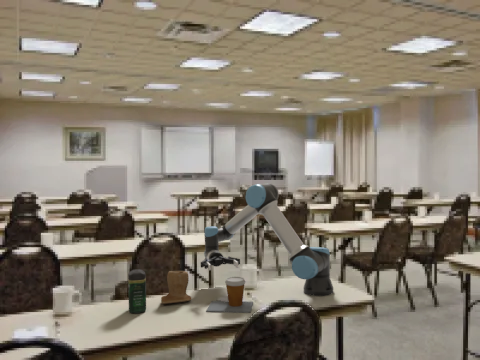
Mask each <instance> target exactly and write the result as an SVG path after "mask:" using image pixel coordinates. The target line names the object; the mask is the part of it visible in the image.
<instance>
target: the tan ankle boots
mask: <svg viewBox="0 0 480 360" xmlns="http://www.w3.org/2000/svg"><path fill="white" fill-rule="evenodd" d="M189 281H190V280H189V273H188V271H185V270H173V271H172V270H171V271H170V270H169V271H168V273H167V277H166V282H167V287H168V294H166V295H162V296H161V299H160V301H161V305H169V304H177V303H184V302H185V303H186V302H189V301H192V296H190V295H188V294H187V288H188V285H189Z"/></svg>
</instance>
